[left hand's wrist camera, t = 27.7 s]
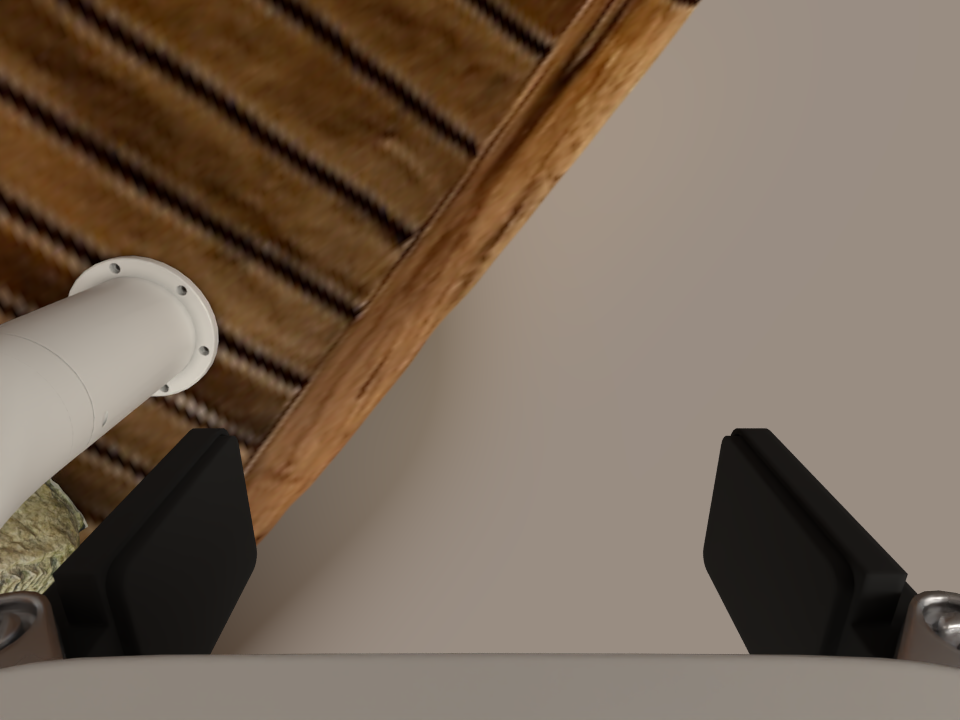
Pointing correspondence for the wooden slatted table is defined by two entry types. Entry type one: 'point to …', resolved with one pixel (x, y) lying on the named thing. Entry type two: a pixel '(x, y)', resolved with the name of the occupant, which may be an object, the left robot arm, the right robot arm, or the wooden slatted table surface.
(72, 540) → the fossil
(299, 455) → the wooden slatted table surface
